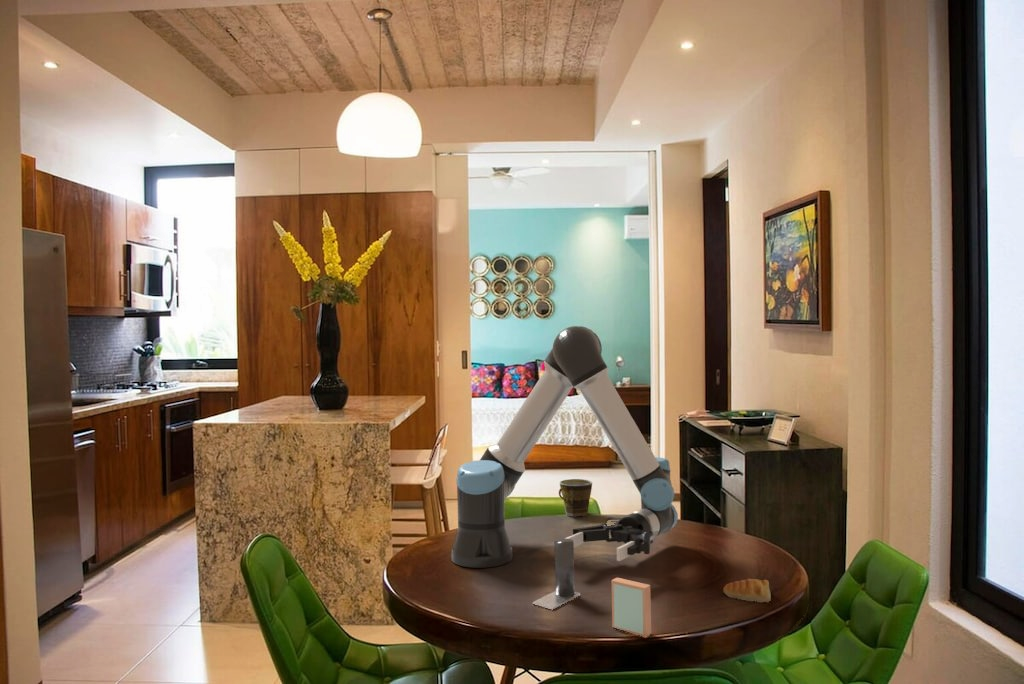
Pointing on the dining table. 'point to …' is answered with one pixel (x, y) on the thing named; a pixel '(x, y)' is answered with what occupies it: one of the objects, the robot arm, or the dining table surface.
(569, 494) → the ceramic cup
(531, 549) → the dining table surface
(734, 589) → the pastry
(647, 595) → the tile
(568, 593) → the metal post on base
